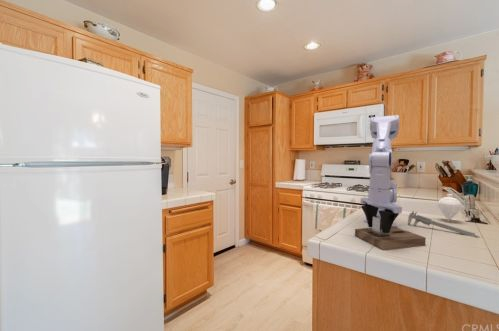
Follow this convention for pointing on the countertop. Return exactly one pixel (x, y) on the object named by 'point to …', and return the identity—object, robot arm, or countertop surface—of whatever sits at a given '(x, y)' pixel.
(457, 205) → the spinning top
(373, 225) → the peg
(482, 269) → the countertop surface
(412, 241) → the socket block
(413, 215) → the caliper
